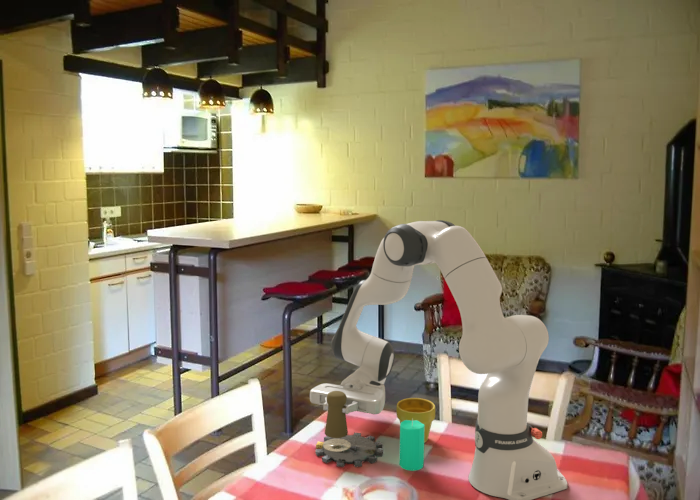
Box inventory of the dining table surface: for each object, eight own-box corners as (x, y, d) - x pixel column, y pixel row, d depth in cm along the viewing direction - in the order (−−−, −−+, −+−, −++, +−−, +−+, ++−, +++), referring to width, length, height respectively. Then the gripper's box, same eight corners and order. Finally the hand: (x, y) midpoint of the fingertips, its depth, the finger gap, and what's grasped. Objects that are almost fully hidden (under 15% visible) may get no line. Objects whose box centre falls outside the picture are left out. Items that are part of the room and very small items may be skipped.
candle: (424, 470, 146) (426, 423, 144) (400, 470, 146) (401, 423, 144) (422, 459, 152) (423, 413, 150) (398, 458, 152) (399, 413, 150)
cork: (340, 440, 152) (340, 398, 151) (320, 434, 155) (320, 393, 154) (352, 431, 158) (352, 391, 156) (332, 426, 161) (332, 386, 159)
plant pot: (407, 451, 156) (408, 415, 155) (389, 434, 165) (389, 400, 164) (441, 443, 160) (442, 408, 159) (422, 428, 170) (422, 395, 168)
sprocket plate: (371, 432, 167) (371, 428, 167) (392, 462, 150) (392, 457, 150) (309, 439, 162) (309, 435, 162) (323, 471, 145) (323, 466, 145)
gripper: (322, 374, 171) (299, 391, 158) (390, 385, 163) (371, 403, 150) (322, 395, 172) (299, 414, 159) (389, 407, 164) (371, 427, 151)
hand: (335, 409), depth 155 cm, fingers closed on cork, 4 cm apart
